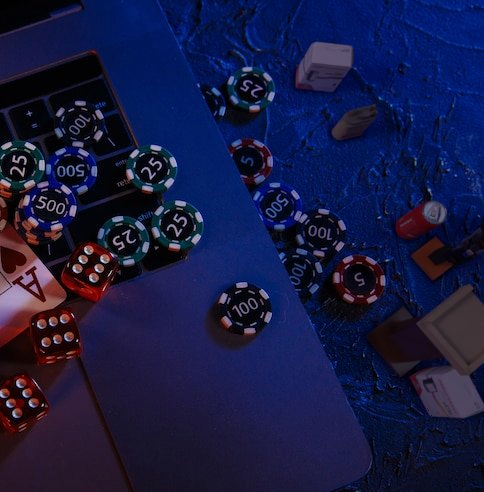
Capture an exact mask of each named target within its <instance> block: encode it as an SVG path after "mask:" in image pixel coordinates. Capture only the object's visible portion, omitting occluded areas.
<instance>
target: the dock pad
mask: <svg viewBox="0 0 484 492" xmlns="http://www.w3.org/2000/svg"><path fill="white" fill-rule="evenodd" d="M474 289H475V288H474V286H473V285H472V284H471V283H468V284H465V285H462V286H460V287H459V288H458V289H457V290H455V292H453V293H452V294H451V295H449V296H448V297H447V298H446V299H445V300H443V301H441V303H439V304H438V305H437V306H436V307H434V308H433V309H432V310H431V311H430V312H429V313H426V314H427V315H426V316H425V317H424V318H422V319H421V320H420V321H419V322H417V323H416V324H417V325H418V327H419V328H420V329H421V330H422V331H423V332H424V334H425V335H426V336H427V337H428V338H429V339H430V341H431V342H432V343H433V344H434V345H435V346H436V348H437V349H438V350H439V351H440V352H441V353H442V354H443V356H444V357H445V358H444V359H446V361H447V362H448V363H449V364H450V365H452V366H453V367H454V368H455V370H456V371H457V372H458V373H459V374H460V375H461V376H465V375H469V376H470V375H471V374H473V372H475V371H476V370H478V368H479V367H481V366H482V365H483V364H484V303H483V302H482V301H481V300H480V299H479V297H477V296H476V294H475V293H474V292H473V290H474Z"/></svg>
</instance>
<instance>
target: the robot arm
mask: <svg viewBox="0 0 484 492" xmlns="http://www.w3.org/2000/svg"><path fill="white" fill-rule="evenodd" d="M470 240H472V242H473V243H470ZM483 252H484V215H483V216H482V218H481V223H480V224H479V225H477V226H476V227H475V230H474V232H472V233H471V234H469V235H468V236H466V237H464V238H463V239H462V240H461V242H460V243H459V244H458V245H456V246H453V248H452V249H451V250H448V251H446V252H445V253H443V257H444V258H445V259H446V260H447V262H448V263H453V266H454V267H457V266H459V265H463V264H465V263H467V262H469V261H472V260H475V259H477V257H478V256H479V255H480V254H482V253H483Z"/></svg>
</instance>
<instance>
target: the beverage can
mask: <svg viewBox="0 0 484 492" xmlns="http://www.w3.org/2000/svg"><path fill="white" fill-rule="evenodd" d="M445 206H446V205H444V204H443V203H442V202H440V201H438V200H427V201H424V202H423V203H421V204H419V205H417V206H416V207H414V208H413V209H411V210H410V211H408V212H407V213H405V214H403V215H401V217H399V218H398V219H397V221H396V223H395V233H396V234H397V236H398V237H400V238H401V239H404V240H407V241H408V240H409V241H411V240H416V239H417V238H419V237H421V236H423V235H425V234H427V233H429V232H430V231H432V230H434V229H436V228H438V227H440V226H441V225H443V224H445V221H446V219H447V217H448V211H447V208H446V207H445Z"/></svg>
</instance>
